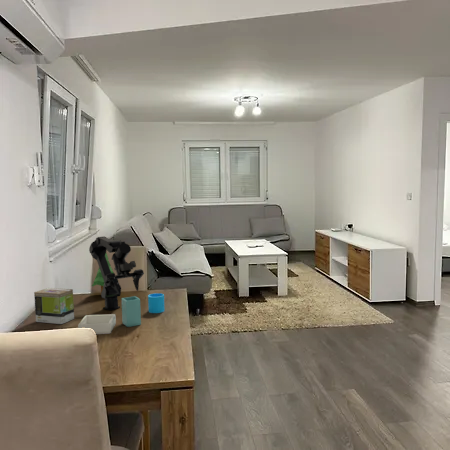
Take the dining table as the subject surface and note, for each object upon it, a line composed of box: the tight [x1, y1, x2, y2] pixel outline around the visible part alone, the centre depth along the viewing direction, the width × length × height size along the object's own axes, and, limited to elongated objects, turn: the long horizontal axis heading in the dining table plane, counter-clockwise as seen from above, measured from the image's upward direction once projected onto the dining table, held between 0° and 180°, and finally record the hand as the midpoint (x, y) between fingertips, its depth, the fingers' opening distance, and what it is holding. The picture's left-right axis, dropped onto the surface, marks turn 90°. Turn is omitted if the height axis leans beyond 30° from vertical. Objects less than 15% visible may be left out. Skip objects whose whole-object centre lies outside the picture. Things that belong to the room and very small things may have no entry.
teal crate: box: [121, 295, 142, 328], centre depth 201 cm, size 7×7×12 cm
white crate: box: [77, 313, 117, 335], centre depth 195 cm, size 14×14×4 cm
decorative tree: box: [91, 252, 115, 293], centre depth 255 cm, size 14×16×30 cm
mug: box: [147, 292, 165, 314], centre depth 224 cm, size 12×8×8 cm
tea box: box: [33, 287, 75, 325], centre depth 209 cm, size 15×10×15 cm
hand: (128, 292), depth 208 cm, fingers open, 9 cm apart
